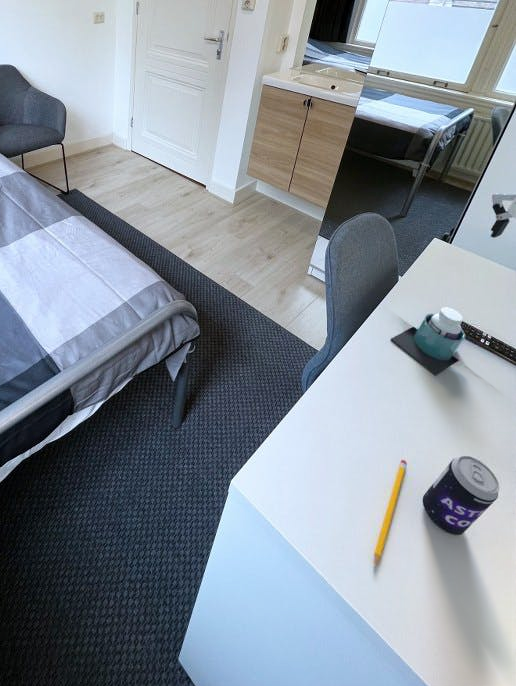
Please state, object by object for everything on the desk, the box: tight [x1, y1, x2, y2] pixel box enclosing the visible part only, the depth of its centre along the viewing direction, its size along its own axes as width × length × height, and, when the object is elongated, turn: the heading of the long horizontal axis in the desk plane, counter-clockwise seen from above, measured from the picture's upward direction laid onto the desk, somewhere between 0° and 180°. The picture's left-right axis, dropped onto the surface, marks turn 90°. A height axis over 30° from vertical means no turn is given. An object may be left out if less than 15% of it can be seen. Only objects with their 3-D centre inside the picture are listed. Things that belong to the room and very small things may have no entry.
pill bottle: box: [428, 306, 464, 340], centre depth 92 cm, size 5×5×10 cm
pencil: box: [373, 459, 408, 567], centre depth 65 cm, size 1×19×1 cm, turn 137°
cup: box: [413, 313, 466, 360], centre depth 93 cm, size 8×8×6 cm
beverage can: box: [422, 455, 500, 536], centre depth 63 cm, size 6×6×12 cm
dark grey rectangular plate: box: [390, 326, 459, 376], centre depth 95 cm, size 10×14×1 cm
